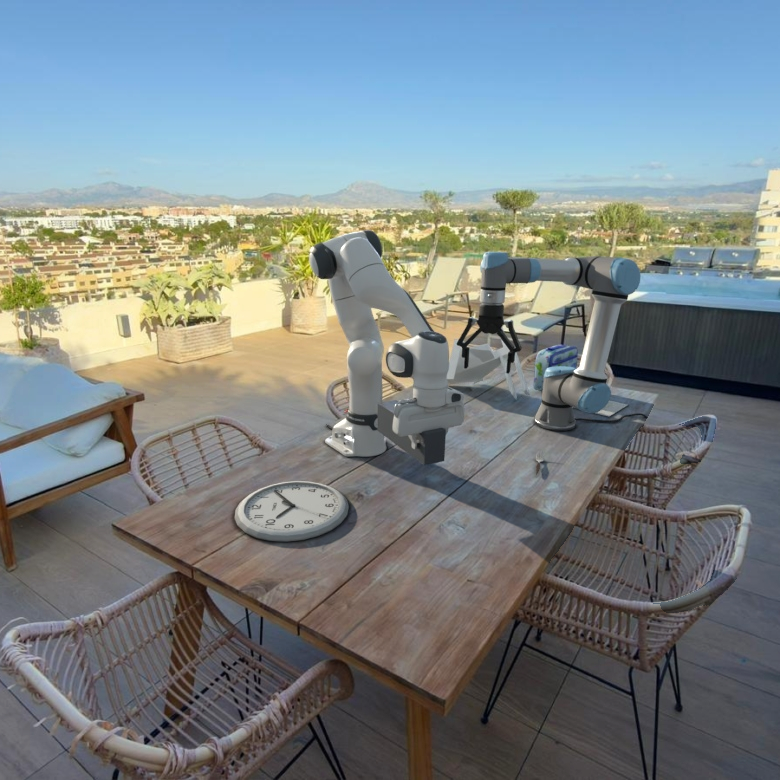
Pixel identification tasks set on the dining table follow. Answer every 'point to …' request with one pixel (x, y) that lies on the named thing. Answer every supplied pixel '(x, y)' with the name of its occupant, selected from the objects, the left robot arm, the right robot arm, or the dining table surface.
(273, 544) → the dining table surface
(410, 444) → the box
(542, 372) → the lunch box
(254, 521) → the wall clock
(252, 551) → the dining table surface
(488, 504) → the dining table surface
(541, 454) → the fork
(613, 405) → the invitation card
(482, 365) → the white plastic object
